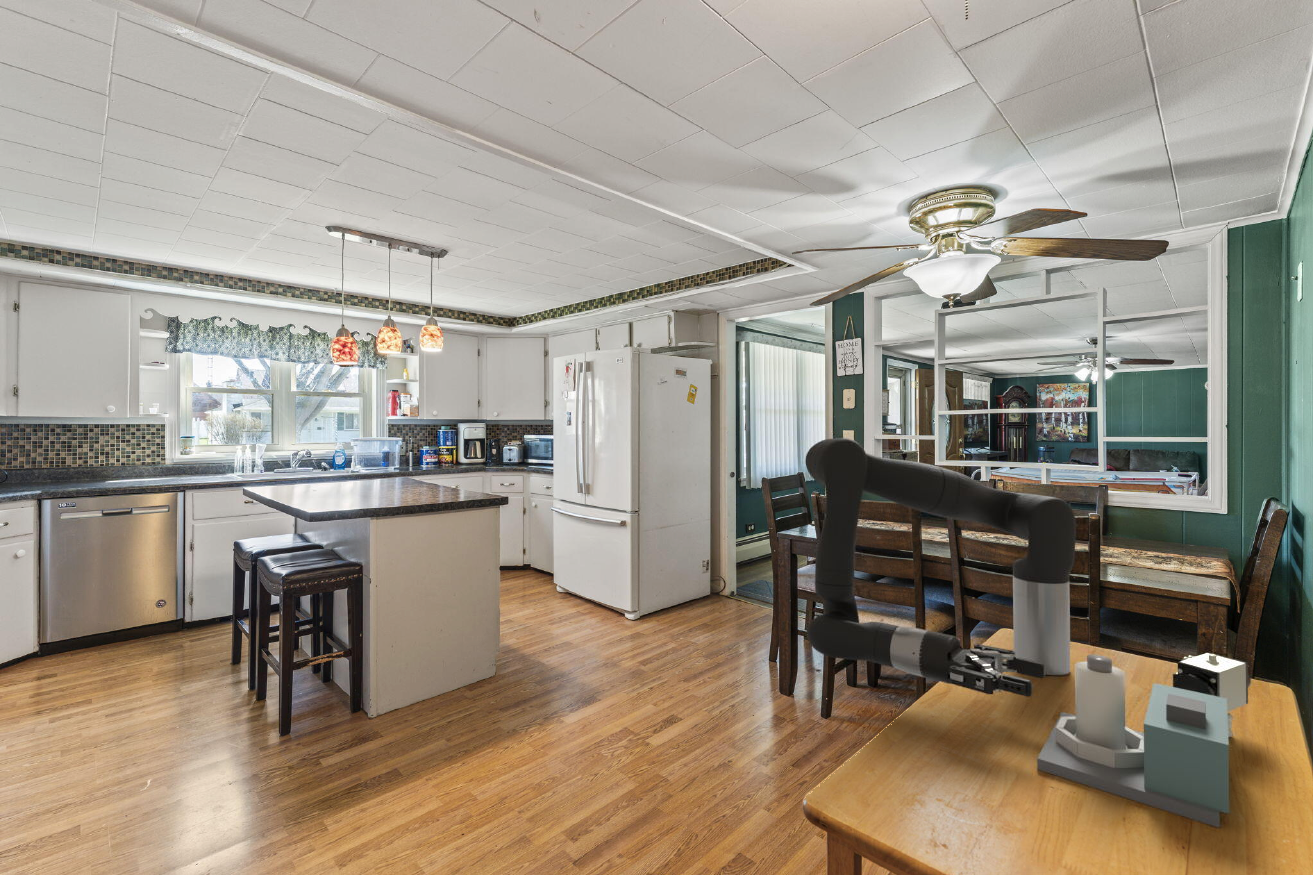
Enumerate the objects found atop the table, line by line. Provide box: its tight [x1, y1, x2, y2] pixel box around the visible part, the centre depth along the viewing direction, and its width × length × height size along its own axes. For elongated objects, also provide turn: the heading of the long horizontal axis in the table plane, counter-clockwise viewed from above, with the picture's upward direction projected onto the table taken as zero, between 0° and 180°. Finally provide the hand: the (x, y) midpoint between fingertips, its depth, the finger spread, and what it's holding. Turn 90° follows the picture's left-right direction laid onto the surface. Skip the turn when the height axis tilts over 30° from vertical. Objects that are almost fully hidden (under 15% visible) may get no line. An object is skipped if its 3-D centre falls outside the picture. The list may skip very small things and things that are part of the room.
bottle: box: [1074, 654, 1128, 750], centre depth 83 cm, size 6×6×12 cm
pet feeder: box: [1036, 682, 1230, 829], centre depth 81 cm, size 19×19×12 cm
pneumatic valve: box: [1172, 652, 1252, 739], centre depth 90 cm, size 6×12×12 cm, turn 115°
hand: (1038, 679), depth 88 cm, fingers open, 8 cm apart
